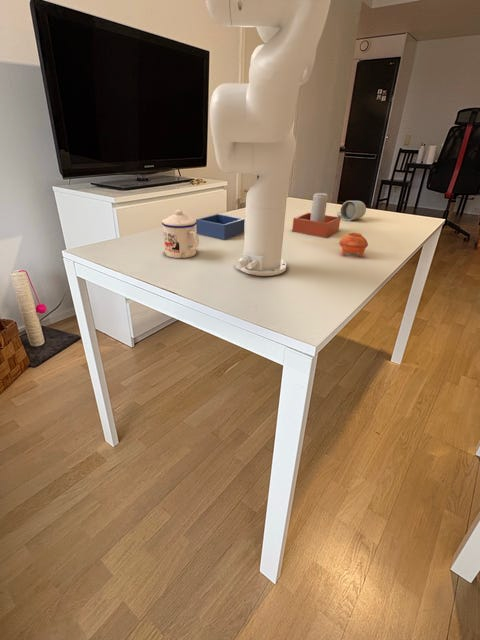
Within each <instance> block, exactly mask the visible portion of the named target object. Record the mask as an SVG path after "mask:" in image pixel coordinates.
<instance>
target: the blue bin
mask: <svg viewBox="0 0 480 640" xmlns="http://www.w3.org/2000/svg"><path fill="white" fill-rule="evenodd" d="M195 221H196V233H197V235H203V236H206V237H211V238H215V239H219V240H223V241H225V240H228V239H230V238H233V237H236V236H238V235H241V234H245V218H241V217H236V216H231V215H226V214H220V213H215V214H211V215H207V216H204V217H200V218H196V219H195Z"/></svg>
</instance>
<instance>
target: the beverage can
mask: <svg viewBox="0 0 480 640" xmlns="http://www.w3.org/2000/svg"><path fill="white" fill-rule="evenodd" d="M312 196H313V197H312V202H311V203H312V204H311V211H310V213H311V218H310V220H311V221H317V222H323V223H324V218H325V215H326V212H327V204H328V193H325V192H314V193H313V195H312Z"/></svg>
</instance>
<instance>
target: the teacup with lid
mask: <svg viewBox="0 0 480 640" xmlns="http://www.w3.org/2000/svg"><path fill="white" fill-rule="evenodd" d="M161 225H162V231H163V243H164V244H163V245H164V246H163V247H164V254H165V255H166V256H167V257H169V258H173V259H186V258H191V257H194V256H195V255H196V254H197V248H198V247H199V245H200V238H199V234H197V233H196V219H195V218H193V217H190V216H188V215H187V214H184V212H183V210H181V209H175V210H174V213H173V214H171V215H170V216H168V217H165V218H163V219H162V221H161Z"/></svg>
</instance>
